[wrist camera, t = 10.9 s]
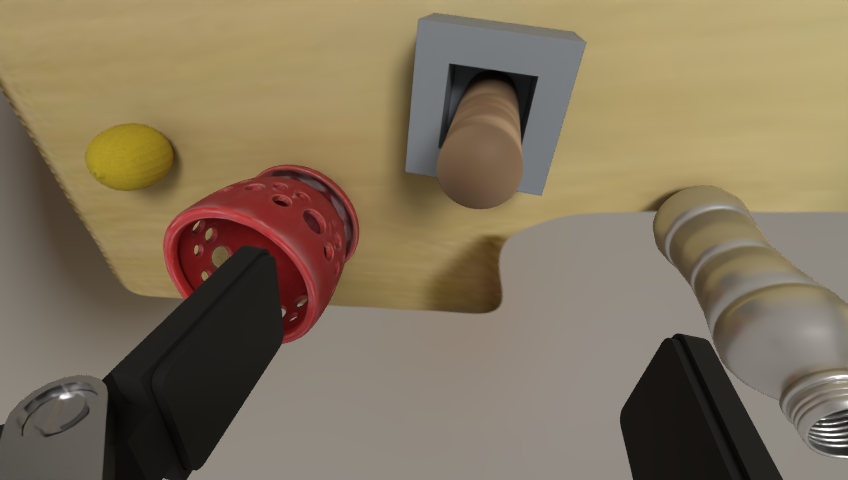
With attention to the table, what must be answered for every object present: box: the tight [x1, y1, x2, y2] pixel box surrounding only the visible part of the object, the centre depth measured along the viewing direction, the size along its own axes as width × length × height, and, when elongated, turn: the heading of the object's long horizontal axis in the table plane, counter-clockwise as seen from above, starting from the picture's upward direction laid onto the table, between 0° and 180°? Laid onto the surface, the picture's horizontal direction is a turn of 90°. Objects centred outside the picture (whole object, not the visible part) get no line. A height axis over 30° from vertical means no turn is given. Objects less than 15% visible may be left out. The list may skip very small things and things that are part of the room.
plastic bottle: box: [653, 186, 848, 459], centre depth 26 cm, size 6×7×20 cm
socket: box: [405, 13, 586, 196], centre depth 30 cm, size 10×10×6 cm
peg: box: [436, 70, 523, 209], centre depth 25 cm, size 4×4×14 cm
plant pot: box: [163, 165, 359, 344], centre depth 36 cm, size 13×13×12 cm
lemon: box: [85, 123, 173, 191], centre depth 37 cm, size 6×6×8 cm
